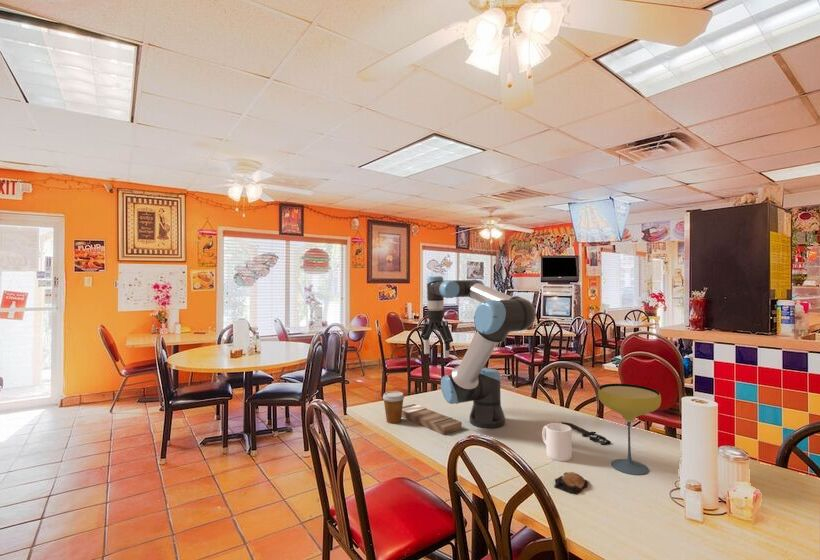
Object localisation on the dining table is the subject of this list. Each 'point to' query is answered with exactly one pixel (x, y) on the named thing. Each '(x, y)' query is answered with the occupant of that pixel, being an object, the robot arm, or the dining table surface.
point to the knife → (586, 434)
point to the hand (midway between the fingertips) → (436, 355)
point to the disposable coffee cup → (393, 406)
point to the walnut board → (430, 419)
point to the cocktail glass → (629, 414)
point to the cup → (558, 441)
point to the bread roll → (571, 483)
